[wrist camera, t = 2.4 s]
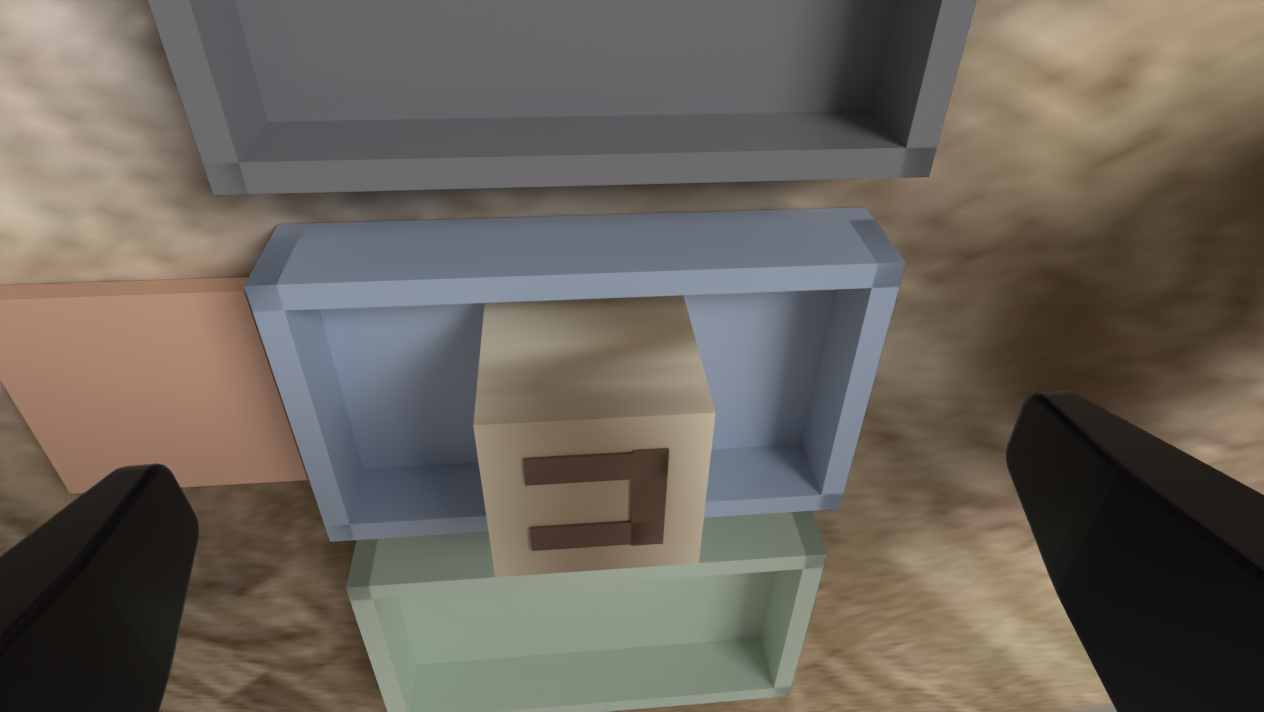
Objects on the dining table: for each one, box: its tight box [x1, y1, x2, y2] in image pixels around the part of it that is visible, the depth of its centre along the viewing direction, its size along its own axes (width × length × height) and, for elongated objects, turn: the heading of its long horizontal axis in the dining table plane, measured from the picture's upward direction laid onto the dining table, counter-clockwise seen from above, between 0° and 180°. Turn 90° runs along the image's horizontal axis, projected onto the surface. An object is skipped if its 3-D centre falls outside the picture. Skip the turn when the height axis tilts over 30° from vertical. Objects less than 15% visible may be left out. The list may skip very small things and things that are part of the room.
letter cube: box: [473, 295, 716, 577], centre depth 18 cm, size 4×4×5 cm
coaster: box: [0, 277, 308, 494], centre depth 19 cm, size 6×6×1 cm
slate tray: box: [244, 207, 906, 542], centre depth 19 cm, size 13×8×2 cm, turn 89°
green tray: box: [346, 511, 827, 712], centre depth 25 cm, size 13×8×2 cm, turn 89°
